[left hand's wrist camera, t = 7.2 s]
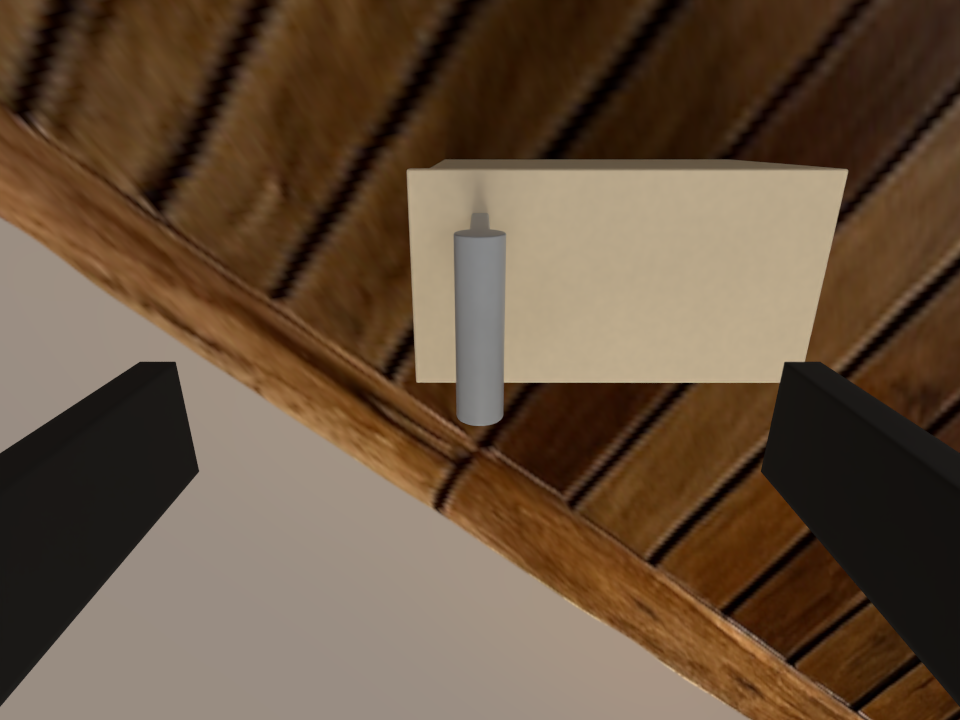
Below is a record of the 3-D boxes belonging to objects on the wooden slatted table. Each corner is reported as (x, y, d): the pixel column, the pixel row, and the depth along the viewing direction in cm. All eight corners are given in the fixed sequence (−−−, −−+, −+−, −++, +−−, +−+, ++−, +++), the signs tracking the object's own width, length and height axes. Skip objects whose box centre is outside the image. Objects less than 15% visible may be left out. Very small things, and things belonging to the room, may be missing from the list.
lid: (417, 376, 26) (393, 466, 19) (408, 168, 23) (375, 181, 16) (791, 376, 26) (909, 466, 19) (837, 168, 23) (1002, 181, 16)
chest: (447, 310, 36) (435, 375, 26) (444, 159, 33) (428, 168, 23) (705, 310, 36) (790, 375, 26) (728, 159, 33) (836, 168, 23)
